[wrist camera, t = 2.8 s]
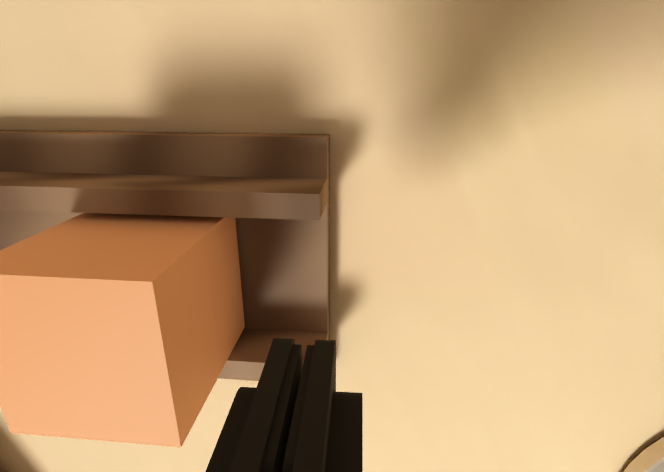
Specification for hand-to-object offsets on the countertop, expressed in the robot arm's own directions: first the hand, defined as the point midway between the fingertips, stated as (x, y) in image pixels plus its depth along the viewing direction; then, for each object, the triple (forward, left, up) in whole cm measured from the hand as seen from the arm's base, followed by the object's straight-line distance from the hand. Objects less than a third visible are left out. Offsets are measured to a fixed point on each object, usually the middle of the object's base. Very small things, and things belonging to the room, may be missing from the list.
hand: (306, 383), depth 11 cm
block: (+7, 0, -8) cm, 11 cm away
